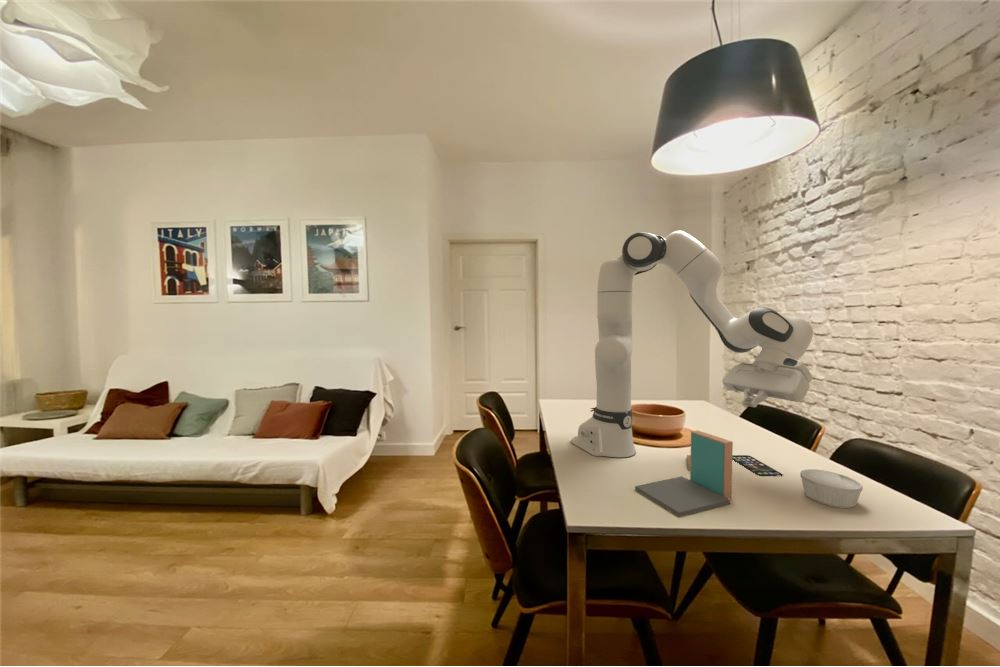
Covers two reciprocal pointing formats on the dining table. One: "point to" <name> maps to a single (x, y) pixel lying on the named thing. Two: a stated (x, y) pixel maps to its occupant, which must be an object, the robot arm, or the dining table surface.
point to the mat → (682, 496)
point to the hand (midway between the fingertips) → (748, 404)
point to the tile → (711, 462)
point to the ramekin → (831, 488)
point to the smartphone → (755, 465)
